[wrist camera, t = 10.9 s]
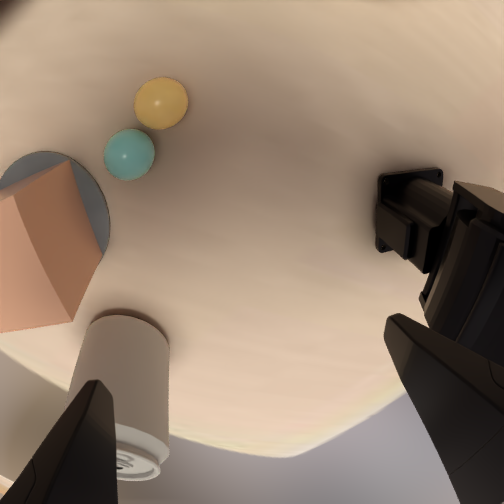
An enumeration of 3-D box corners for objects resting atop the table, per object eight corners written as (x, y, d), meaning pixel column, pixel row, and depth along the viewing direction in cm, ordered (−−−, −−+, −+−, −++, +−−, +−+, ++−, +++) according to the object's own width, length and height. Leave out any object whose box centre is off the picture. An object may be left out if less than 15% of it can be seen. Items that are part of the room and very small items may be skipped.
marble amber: (184, 74, 15) (181, 68, 12) (192, 120, 17) (192, 124, 14) (135, 86, 15) (123, 84, 12) (144, 132, 16) (134, 138, 14)
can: (72, 333, 22) (38, 452, 12) (124, 292, 21) (94, 434, 11) (132, 377, 26) (124, 489, 16) (188, 346, 25) (195, 475, 15)
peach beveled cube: (69, 159, 16) (12, 195, 10) (102, 255, 19) (72, 321, 13) (-4, 192, 15) (-62, 235, 9) (30, 274, 19) (-8, 334, 13)
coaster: (85, 130, 15) (83, 131, 15) (129, 266, 20) (128, 269, 20) (-19, 179, 15) (-22, 180, 14) (28, 290, 20) (26, 293, 19)
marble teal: (152, 120, 16) (143, 124, 13) (162, 166, 18) (156, 179, 15) (106, 134, 16) (90, 141, 13) (118, 178, 17) (105, 193, 15)
